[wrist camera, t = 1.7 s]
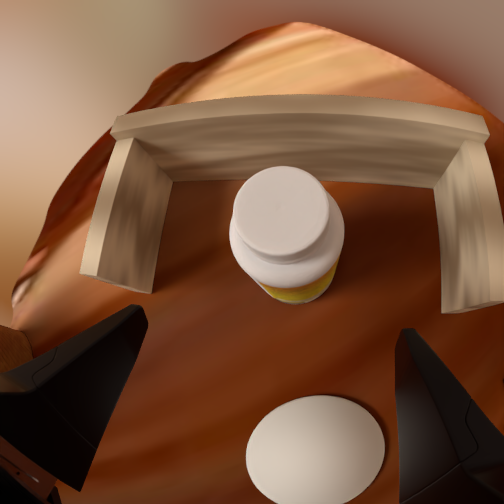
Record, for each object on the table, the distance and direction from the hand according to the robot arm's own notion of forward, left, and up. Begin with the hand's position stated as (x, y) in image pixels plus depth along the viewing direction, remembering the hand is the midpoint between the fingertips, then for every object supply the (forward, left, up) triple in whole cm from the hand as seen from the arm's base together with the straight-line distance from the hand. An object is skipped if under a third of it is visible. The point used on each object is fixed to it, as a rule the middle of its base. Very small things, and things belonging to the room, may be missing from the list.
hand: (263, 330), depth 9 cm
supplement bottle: (+4, -2, -12) cm, 13 cm away
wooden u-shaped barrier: (+7, -3, -11) cm, 14 cm away
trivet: (-10, +1, -11) cm, 15 cm away
